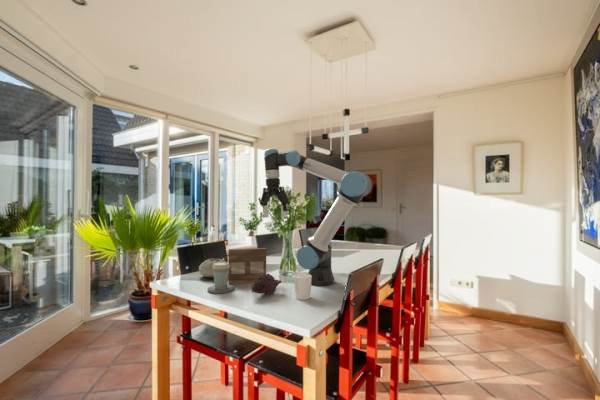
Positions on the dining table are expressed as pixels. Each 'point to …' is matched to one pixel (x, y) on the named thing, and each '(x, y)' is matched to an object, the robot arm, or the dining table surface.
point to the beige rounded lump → (208, 267)
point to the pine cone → (265, 284)
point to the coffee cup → (221, 274)
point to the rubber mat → (222, 291)
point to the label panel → (246, 265)
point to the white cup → (303, 286)
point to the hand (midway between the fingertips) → (275, 217)
